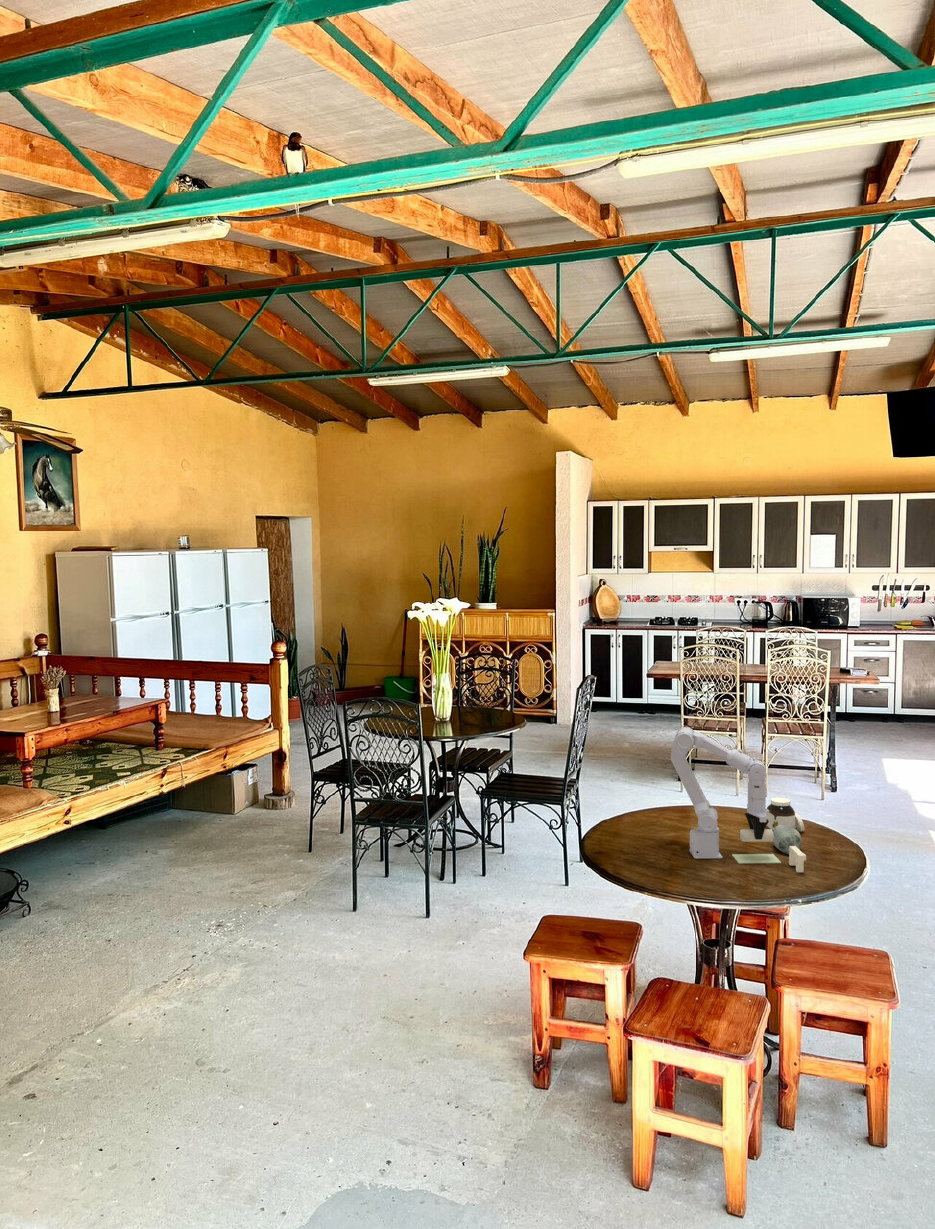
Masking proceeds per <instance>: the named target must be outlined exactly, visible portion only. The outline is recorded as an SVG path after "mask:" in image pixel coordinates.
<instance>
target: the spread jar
mask: <svg viewBox="0 0 935 1229" xmlns="http://www.w3.org/2000/svg"><path fill="white" fill-rule="evenodd" d="M766 809H768V810H769V813H766V819H768V820H769V822H768V824H767V825H766V828H767V829H772V831H774V829H775V828H776V827H777V826H778V825H789V826H791V827H793V828H795V829H796V830H797V831H798V832H799V833H800V832H803V831H805V828H806V827H805V824H804V821H803V820H802V817H801V816H800V814H799V813H797V812H795V810H794V808H793V807H792V806H791V800H790V798H786V797H779V796H777V797H771V798H770V804H768V806H767V807H766Z"/></svg>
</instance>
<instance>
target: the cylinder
mask: <svg viewBox="0 0 935 1229" xmlns="http://www.w3.org/2000/svg"><path fill="white" fill-rule="evenodd" d="M739 838H740V841H741V842H743V843H744V842H745V843H746V842H751V843H752V842H754V843H755V842H757V843H758V842H763V843H764V842H773V839H774V835H773V831H772V829H769V828H765V830H764V834H763V838H762V840H756V839H755V836H754V829H750V828H749V829H747V828H746V829H743V828H741V829H740V831H739Z"/></svg>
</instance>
